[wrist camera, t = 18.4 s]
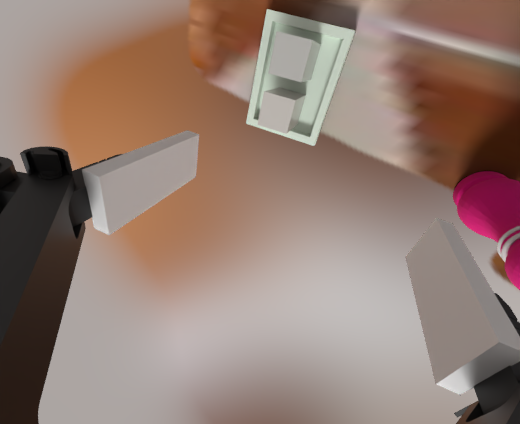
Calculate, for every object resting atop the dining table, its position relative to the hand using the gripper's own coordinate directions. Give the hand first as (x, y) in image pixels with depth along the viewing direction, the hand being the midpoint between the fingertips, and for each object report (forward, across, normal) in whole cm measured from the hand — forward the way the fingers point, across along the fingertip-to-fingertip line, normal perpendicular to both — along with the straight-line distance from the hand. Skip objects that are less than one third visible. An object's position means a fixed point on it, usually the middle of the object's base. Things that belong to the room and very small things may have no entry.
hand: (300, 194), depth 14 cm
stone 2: (+26, -7, 0) cm, 27 cm away
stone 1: (+26, -7, +5) cm, 27 cm away
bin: (+27, -7, +2) cm, 28 cm away
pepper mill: (+27, +22, -4) cm, 35 cm away
